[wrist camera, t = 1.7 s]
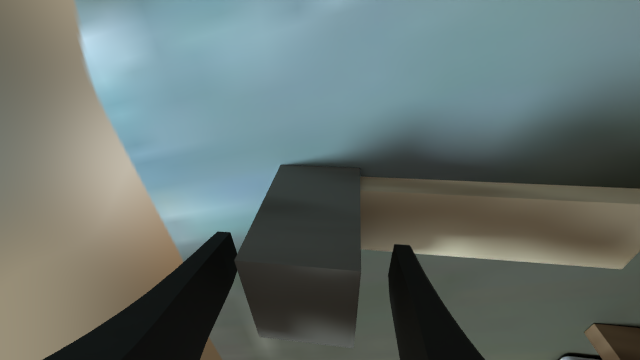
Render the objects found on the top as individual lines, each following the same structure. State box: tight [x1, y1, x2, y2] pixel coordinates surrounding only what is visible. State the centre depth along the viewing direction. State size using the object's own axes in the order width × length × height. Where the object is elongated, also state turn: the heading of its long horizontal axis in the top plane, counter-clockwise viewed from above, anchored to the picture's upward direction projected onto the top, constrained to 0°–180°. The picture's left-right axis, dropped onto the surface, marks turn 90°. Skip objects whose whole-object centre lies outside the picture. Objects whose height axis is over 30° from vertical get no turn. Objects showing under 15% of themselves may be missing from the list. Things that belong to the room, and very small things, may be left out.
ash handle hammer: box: [234, 165, 640, 348], centre depth 11 cm, size 5×17×6 cm, turn 92°
